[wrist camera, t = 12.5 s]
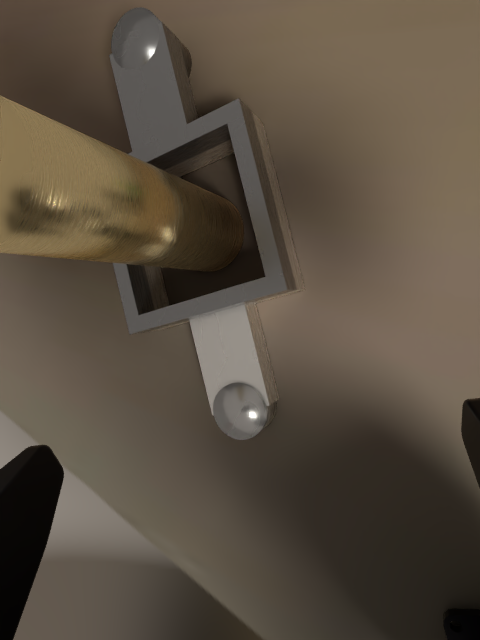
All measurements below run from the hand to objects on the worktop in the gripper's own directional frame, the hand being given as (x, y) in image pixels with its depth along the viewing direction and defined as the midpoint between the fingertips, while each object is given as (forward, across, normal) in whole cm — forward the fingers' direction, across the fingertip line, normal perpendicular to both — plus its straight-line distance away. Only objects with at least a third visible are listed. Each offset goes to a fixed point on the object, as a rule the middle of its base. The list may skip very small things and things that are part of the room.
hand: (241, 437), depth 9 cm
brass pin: (+15, +3, 0) cm, 16 cm away
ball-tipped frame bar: (+15, +3, 0) cm, 16 cm away
